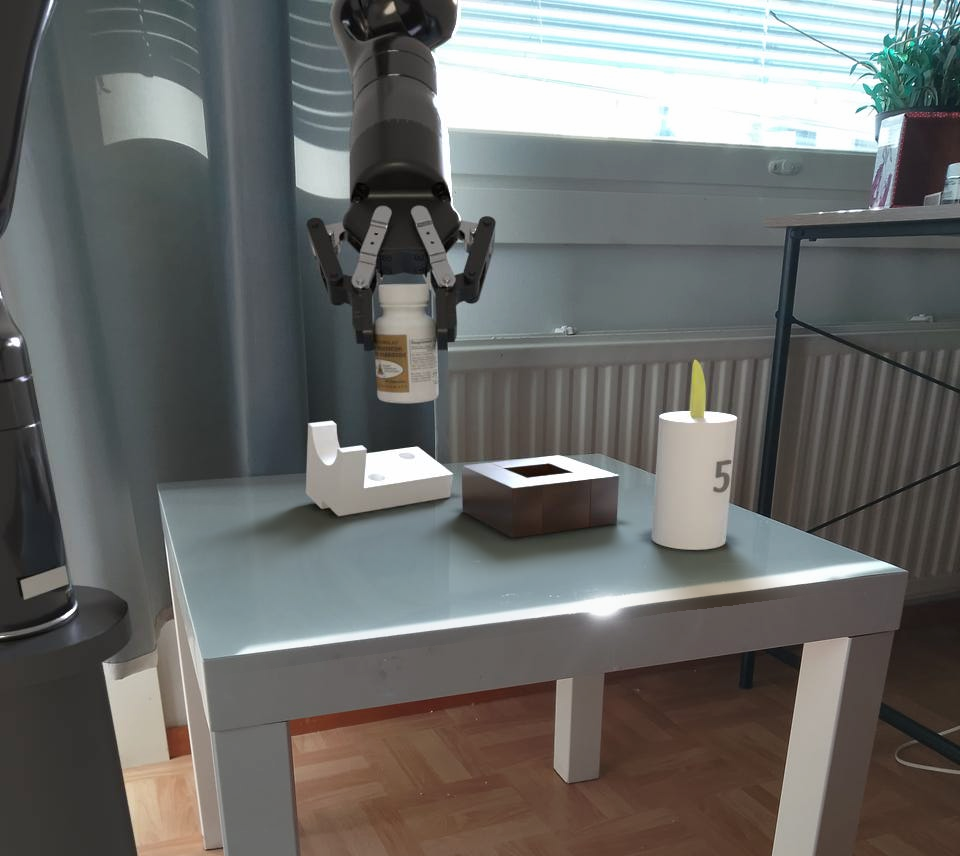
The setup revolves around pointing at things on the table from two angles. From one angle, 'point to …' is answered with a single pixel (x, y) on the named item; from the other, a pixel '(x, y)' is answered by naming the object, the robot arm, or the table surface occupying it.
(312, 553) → the table surface
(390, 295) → the pill bottle
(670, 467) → the candle
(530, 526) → the socket
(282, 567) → the table surface
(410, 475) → the bracket
